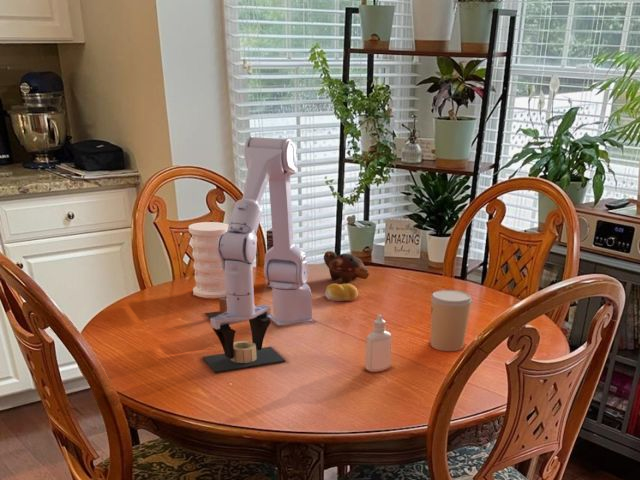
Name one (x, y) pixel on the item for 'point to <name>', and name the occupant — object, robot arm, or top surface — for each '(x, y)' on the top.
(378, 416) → the top surface
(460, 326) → the white canister
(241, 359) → the wooden ring
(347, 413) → the top surface
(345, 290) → the bread roll
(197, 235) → the decorative container
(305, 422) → the top surface
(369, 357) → the eye dropper bottle
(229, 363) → the mat
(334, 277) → the decorative turtle
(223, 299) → the tape post
